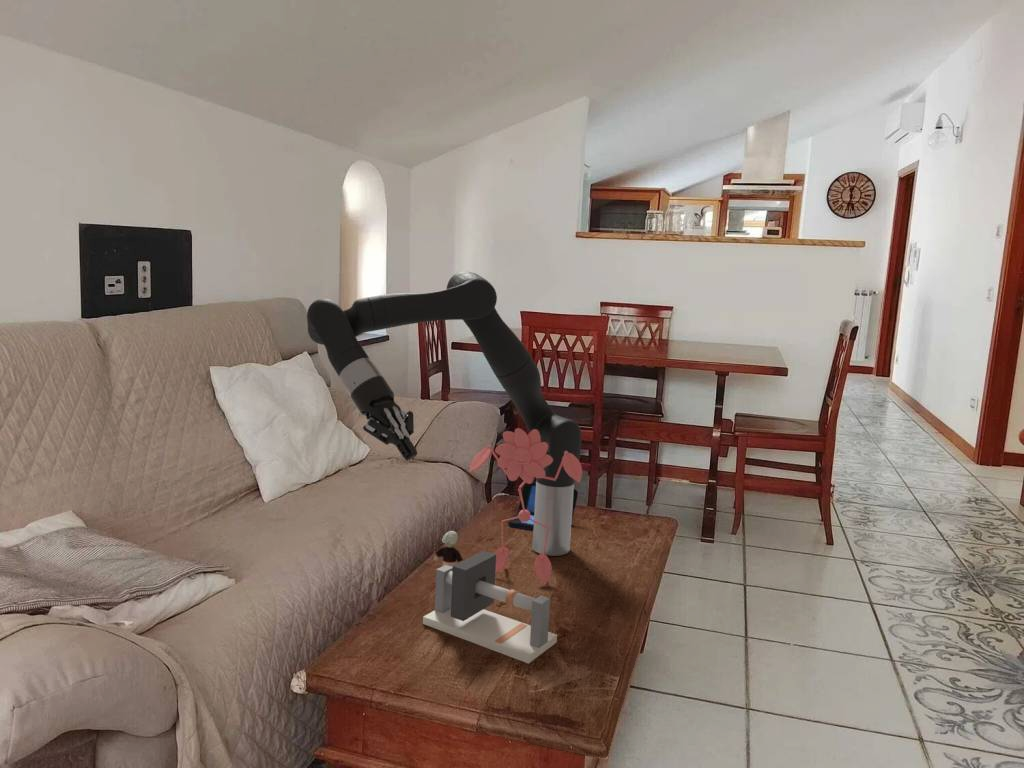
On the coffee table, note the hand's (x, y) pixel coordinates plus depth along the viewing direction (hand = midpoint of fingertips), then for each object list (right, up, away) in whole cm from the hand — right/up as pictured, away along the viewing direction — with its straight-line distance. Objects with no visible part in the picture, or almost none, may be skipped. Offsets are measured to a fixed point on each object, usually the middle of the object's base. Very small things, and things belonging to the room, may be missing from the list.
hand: (412, 457), depth 153 cm
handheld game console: (+27, -24, +62) cm, 72 cm away
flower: (+20, -30, +22) cm, 42 cm away
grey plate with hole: (+12, -29, 0) cm, 31 cm away
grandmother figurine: (+6, -30, +18) cm, 35 cm away
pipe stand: (+15, -33, -2) cm, 36 cm away
